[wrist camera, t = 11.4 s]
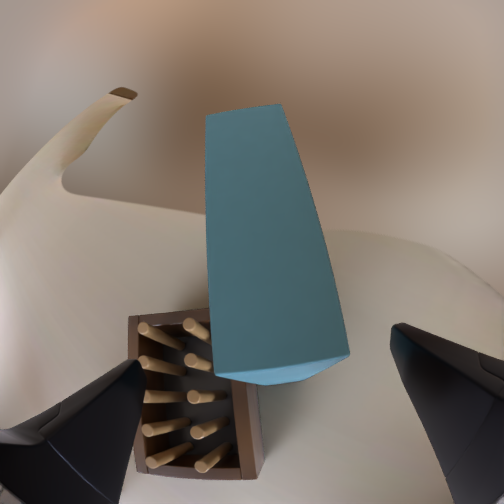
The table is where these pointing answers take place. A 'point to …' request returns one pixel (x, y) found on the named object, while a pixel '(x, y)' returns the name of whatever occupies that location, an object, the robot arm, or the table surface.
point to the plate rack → (191, 403)
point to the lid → (266, 255)
